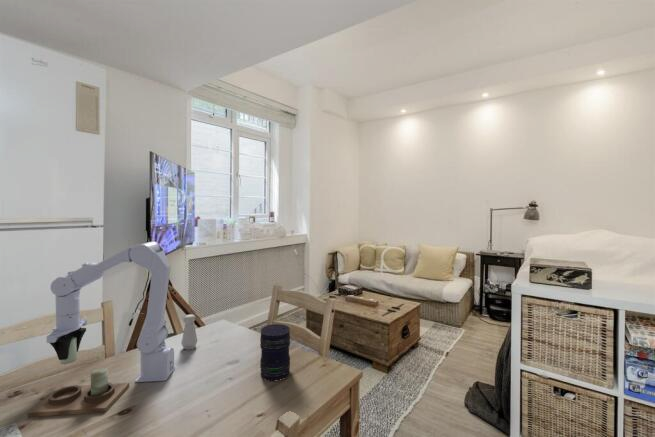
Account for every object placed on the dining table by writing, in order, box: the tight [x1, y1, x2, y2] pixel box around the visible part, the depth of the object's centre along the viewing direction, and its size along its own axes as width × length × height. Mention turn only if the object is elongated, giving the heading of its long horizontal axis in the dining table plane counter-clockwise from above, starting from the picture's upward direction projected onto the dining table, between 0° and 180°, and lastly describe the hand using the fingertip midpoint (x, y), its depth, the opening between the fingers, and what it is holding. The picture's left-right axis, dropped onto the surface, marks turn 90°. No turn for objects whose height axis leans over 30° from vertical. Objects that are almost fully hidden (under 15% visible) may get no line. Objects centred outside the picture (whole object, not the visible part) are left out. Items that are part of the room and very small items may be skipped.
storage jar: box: [259, 323, 291, 382], centre depth 102 cm, size 10×10×15 cm
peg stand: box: [27, 367, 130, 418], centre depth 87 cm, size 19×12×8 cm, turn 97°
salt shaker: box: [181, 313, 198, 351], centre depth 121 cm, size 6×6×13 cm
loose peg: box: [59, 337, 78, 365], centre depth 96 cm, size 4×4×7 cm
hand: (68, 355), depth 96 cm, fingers closed on loose peg, 4 cm apart
